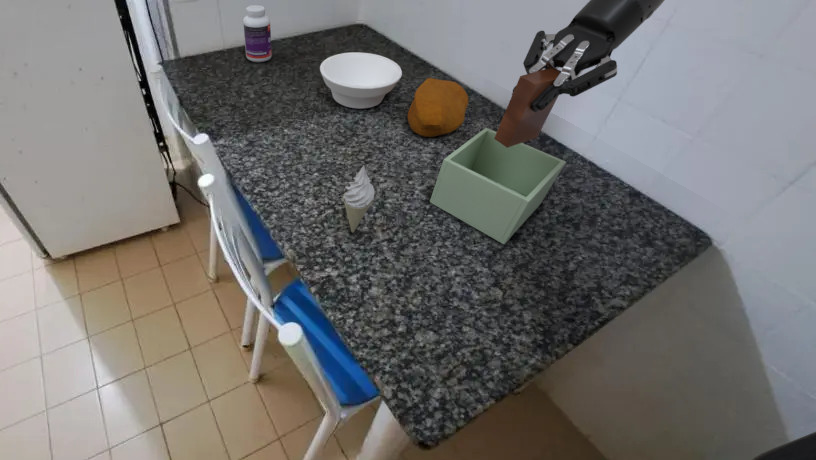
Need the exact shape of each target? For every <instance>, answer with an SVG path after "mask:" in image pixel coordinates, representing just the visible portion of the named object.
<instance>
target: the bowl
mask: <svg viewBox="0 0 816 460" xmlns="http://www.w3.org/2000/svg"><path fill="white" fill-rule="evenodd" d="M319 71H320V72H319V73H320V75H321V76H322V79H323V82H324V84H325V86H326V87H327V88H328V89H330V92H331V96H332V98H333V100H334V101H335V102H336V103H338V104H339V105H342V106H344V107H347V108H352V109H369V108H373V107H375V106H376V107H377V106H378V105H380V104H381V103H382V101H383V100H384V98H385V96H386V95H387V94H388V93H390V92H391V91H392V90H393V89H394V88H395V87H396V85H397V84H398V82H399V81H400V80H401V78H402V75H403V71H402V68H401V66H400V65H399V64H398V63H397V62H395V61H394V60H392V59H390V58H388V57H385V56H383V55H380V54H376V53H370V52H360V51H359V52H358V51H357V52H356V51H355V52H353V51H352V52H342V53H338V54H333V55H331V56H328V57H327V58H326V59H324V60H323V61H322V62H321V63H320V66H319Z"/></svg>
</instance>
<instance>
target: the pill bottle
mask: <svg viewBox="0 0 816 460" xmlns="http://www.w3.org/2000/svg"><path fill="white" fill-rule="evenodd" d="M245 13H246V16H244V17H243V19H242V27H243V39H244V47H245V57H246V58H247V60H249V61H251V62H252V63H264V62H268V61H269V60H271V59H272V57H273V52H272V51H273V50H272V33H271V20H270V19H271V18H269V16H268V15H266V7H265V6H264V5H258V4H256V5H255V4H254V5H248V6H246V7H245Z"/></svg>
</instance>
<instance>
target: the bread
mask: <svg viewBox="0 0 816 460" xmlns="http://www.w3.org/2000/svg"><path fill="white" fill-rule="evenodd" d="M468 105H469V95H468V94H467V92H466V91H465V89H464V87H463V86H462V85H460V84H459V83H457V82H456V81H451V80H445V79H437V78H432V77H427V78H426V79H425V80H424V81H423V82H422V83H421V84H420V85H419V86H418V87H417V89H416V90H415V92H414V97H413V100H412V102H411V104H410V107H409V109H408V111H407V121H408V125H409V127H410V129H411V130H412V131H413V132H414V133H415V134H417V135H419V136H421V137H425V138H434V137H438V136H441V135H442V136H443V135H446V134H449V133H453V132H454V131H456V130H457V129H458V128H460V127H461V126H462V124H463V123H464V121H465V118H466V117H465V116H466V111H467V108H468Z"/></svg>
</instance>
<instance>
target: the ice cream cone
mask: <svg viewBox="0 0 816 460" xmlns="http://www.w3.org/2000/svg"><path fill="white" fill-rule="evenodd" d="M353 180H354V181H349V182H348V185H350V186H345V187H344V188H345V189H346V190H347V191H345V192H344V193H343V195H342V201H343V203H344V206H345V207H344V208H345V211H346V215H347V219H348V223H349V229H350V232H351V233H355V231H356V230H357V228H358V226H359V224H360V223H361V221H362V219H363V218H364V216H365V215H366V213H367V211H368V210H369V208H370V206H371V205H372V204H373V201H374V199H375V195H376V194H375V193H376V192H375V189H374V185H373V184H372V183H370V182H371V180H370V178H369V175H368V173H367V170H366V167H365V165H364V164H363V165H362V167H361V168H360V169H359V171H358V173H357V174H356V175H355V176H354V177H353Z"/></svg>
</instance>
